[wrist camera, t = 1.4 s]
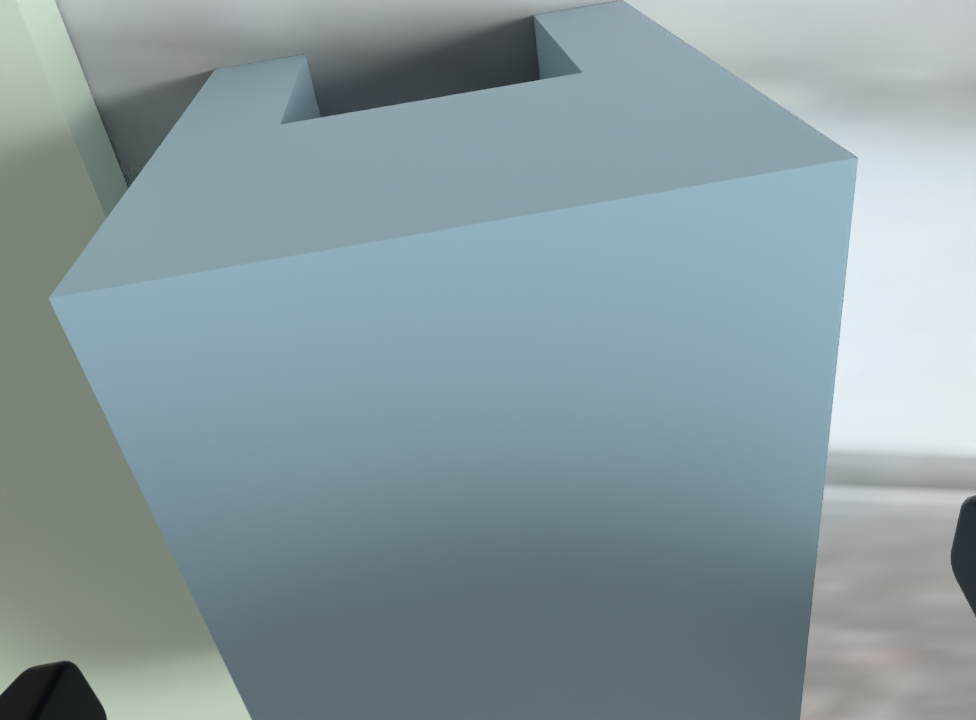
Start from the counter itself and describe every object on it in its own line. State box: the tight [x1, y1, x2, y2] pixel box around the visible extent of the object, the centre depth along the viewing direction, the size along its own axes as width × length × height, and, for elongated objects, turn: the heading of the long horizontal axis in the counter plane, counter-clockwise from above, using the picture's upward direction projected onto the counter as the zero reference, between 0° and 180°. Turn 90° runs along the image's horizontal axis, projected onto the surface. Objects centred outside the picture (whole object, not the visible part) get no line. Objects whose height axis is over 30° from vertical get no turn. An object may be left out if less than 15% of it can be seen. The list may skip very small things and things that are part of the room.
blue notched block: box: [49, 0, 858, 720], centre depth 10 cm, size 9×5×6 cm, turn 8°
